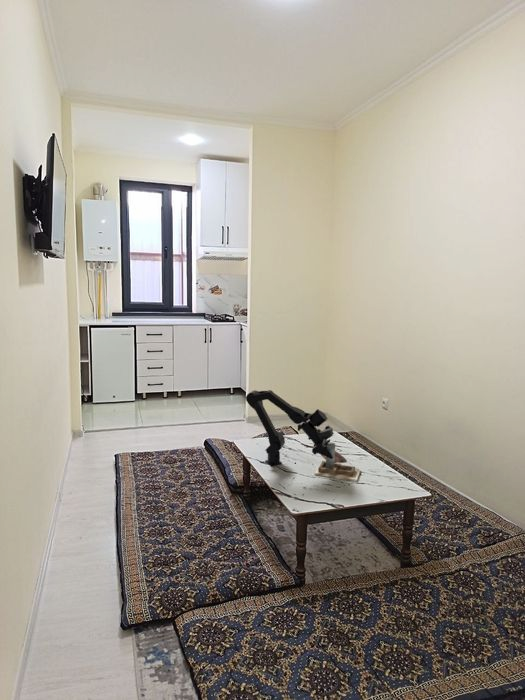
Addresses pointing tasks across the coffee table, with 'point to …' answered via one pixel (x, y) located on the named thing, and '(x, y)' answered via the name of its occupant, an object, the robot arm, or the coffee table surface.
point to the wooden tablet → (338, 458)
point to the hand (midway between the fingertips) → (333, 456)
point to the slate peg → (332, 450)
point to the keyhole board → (338, 471)
